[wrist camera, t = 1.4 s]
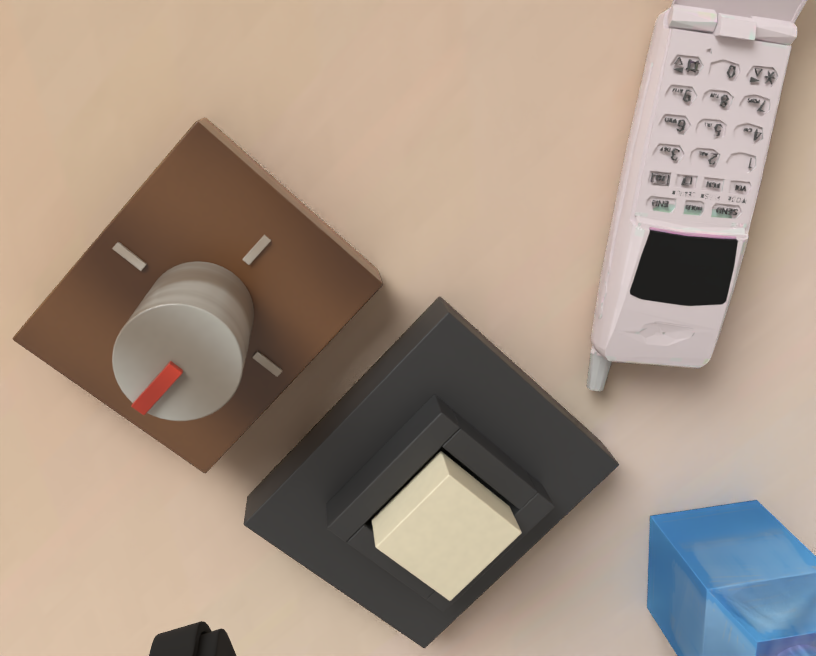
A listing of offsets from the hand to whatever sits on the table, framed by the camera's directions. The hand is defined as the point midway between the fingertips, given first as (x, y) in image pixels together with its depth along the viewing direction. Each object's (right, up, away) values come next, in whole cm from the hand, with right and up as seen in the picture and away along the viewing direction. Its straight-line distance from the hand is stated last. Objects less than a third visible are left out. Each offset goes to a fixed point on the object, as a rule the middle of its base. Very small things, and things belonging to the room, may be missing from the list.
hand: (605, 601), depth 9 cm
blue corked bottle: (+14, -9, +33) cm, 37 cm away
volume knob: (-11, +4, +22) cm, 25 cm away
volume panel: (-12, +5, +25) cm, 28 cm away
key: (-1, -5, +25) cm, 26 cm away
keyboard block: (-1, -4, +29) cm, 29 cm away
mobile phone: (+10, +12, +25) cm, 30 cm away
